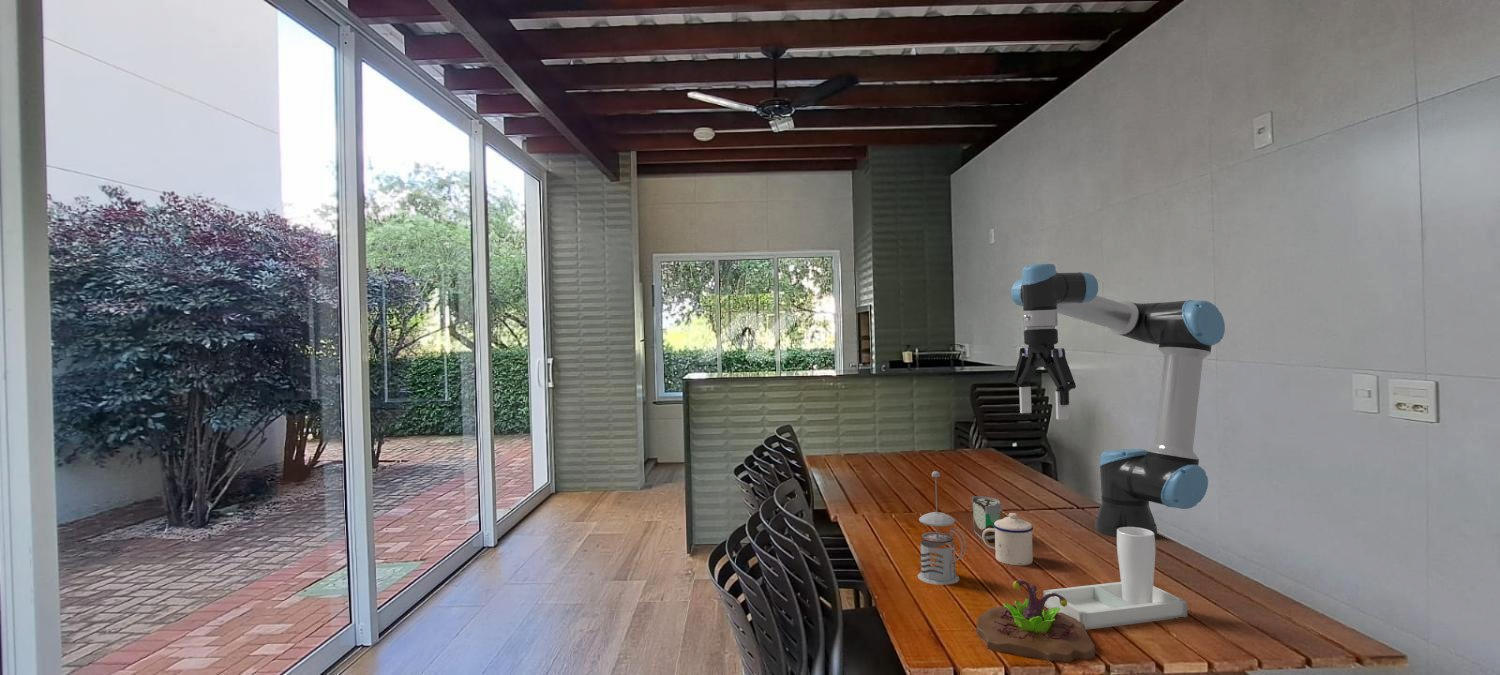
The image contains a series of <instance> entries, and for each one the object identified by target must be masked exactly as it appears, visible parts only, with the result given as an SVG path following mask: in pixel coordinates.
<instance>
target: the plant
mask: <svg viewBox="0 0 1500 675" xmlns="http://www.w3.org/2000/svg"><path fill="white" fill-rule="evenodd" d="M1023 585H1025V586H1026V589H1027V592H1028V598H1026V599H1024V602H1023V603H1021V602H1020V601H1017V600H1015V601H1014V604H1012V605H1011V604H1008V603H1005V602H1004V603H1003V605H1002V606H996V607H995V606H994V607H990V608H989V609H987V610H986V611H984V612H982V613H981V614H980V615H979V616H978V617H977V621H976V635H977V637H979V638H980V639H981V640H983V641H984V643H985V645H986V649H987V650H989V651H994V652H997V653H1003V654H1012V655H1015V656H1019V657H1026V658H1036V659H1041V660H1044V661H1046V662H1048V663H1050V662H1051V663H1053V662H1061V663H1070V662H1073V660H1075V658H1076V659H1078V658H1080V659H1079V660H1084V661H1088V660H1091V659H1092V658H1094V656H1095V655H1096V646H1095V644H1094V642H1093V640H1092V639H1091V637H1090V636H1089V634H1088V632H1087V630H1085V626H1084V624H1082V623H1080V622H1079V621H1078V620H1076V619H1075V618H1073V617H1070V616H1068V615H1066V614H1064V613H1058V612H1059V611H1060V608H1059V607H1054V608H1051V609H1044V607H1045V606H1044V604H1045V602H1046V601H1047V599H1048V598H1050V597H1054V596H1057V597H1059V599H1060V604H1061V605H1062V606H1064V607H1065V606H1067V600H1066V599H1065V598H1063V597H1062V596H1060V595H1059V594H1056V593H1051V594H1050V593H1049V594H1046V595H1044V596H1042V597H1041V598H1040V599H1039V600H1038V599H1037V597H1038V596H1037V593H1038V591H1039V590H1038V587H1037V586H1036V585H1033V584H1031V585H1030V584H1029V582H1027V581H1026V580H1023V579H1022V580H1021V579H1018V580H1014V581H1013V582H1012V588H1013V590H1020V589H1021V588H1022V586H1023Z"/></svg>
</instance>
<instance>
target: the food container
mask: <svg viewBox="0 0 1500 675" xmlns="http://www.w3.org/2000/svg"><path fill="white" fill-rule="evenodd" d="M971 504H972V513H973V514H972V515H973V516H972V518H973V532H974V533H975V534H976V535H977V536H978V537H979V538H980V539H981V540H982V541H983V538H982V533H983V531H984V530H985V529H988V528H993V529H995V527H994V523H995V521H997V520H1000V519H1001V518H1000V516H1001V512H1003V507H1002V504H1001V502H1000V500H999V499H997V498H993V497H988V496H981V495H980V496H978V495H977V496H975V495H974V496H973V495H972V496H971ZM985 536H986V540H987V541H988V543H990V542H995V532H986V534H985Z"/></svg>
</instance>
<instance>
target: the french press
mask: <svg viewBox="0 0 1500 675" xmlns="http://www.w3.org/2000/svg"><path fill="white" fill-rule="evenodd" d="M940 475H941V474H940V472H939V471H937V470H934V471H933V472H932V473H931V477H933V478H935V479H934V481H935V484H934V485H935V486H934V487H937V478H940ZM937 491H938V490H937V488H935V509H936V510H935V511H932V512H928V513H925V514H923V515H922V516H920V517H919V518H918V520H919V522H920V523H922V525H924V526H925V525H926V526H930V527H936V532H934V531H930V532H925V533H924V534H922V535H921V538H922V540H921V541H920V568H921V571H920V573H918V574H917V579H918V580H920V581H921V582H923V583H927V584H930V585H938V586H939V585H941V586H945V585H947V586H948V585H953V584H956V583H958V582H959V581H960V577H959V575H958V574H956V572H957V571H956V569H957V568H956V565H957V564H956V562H958V560H960V559H962V558H964V556H965V554H966V550H967V543H966V539H965V536H964V535H963V533H962V532H961V531H960V530H959V529H958V528H957V527H954V528H953V529H950V530H949V534H948V533H944V532H943V533H942V532H938V530H939V529H938V527H948V526H951V525H953V524H955V522H956V520H955V518H954V517H952V516H951V515H949V514H946V513H944V512H939V511H938V497H937V495H938V493H937ZM955 530H956V531H957V532H958V533H959V534H960V535H961V537H962V539H963V542H964V552H963V543H962V540H961V537H960V536H959V535H958V533H957V532H956V531H955ZM954 534H955V535H956V536H957V538H958V540H959V541H960V550H961V551H960V554H959V557H958V558H956V547H955V542H953V540H954V537H953V535H954ZM945 545H946V547H943V546H945ZM947 546H950V547H947ZM940 547H942V548H940ZM931 554H935V555H931ZM930 559H933V560H930ZM933 565H935V566H933Z"/></svg>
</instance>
